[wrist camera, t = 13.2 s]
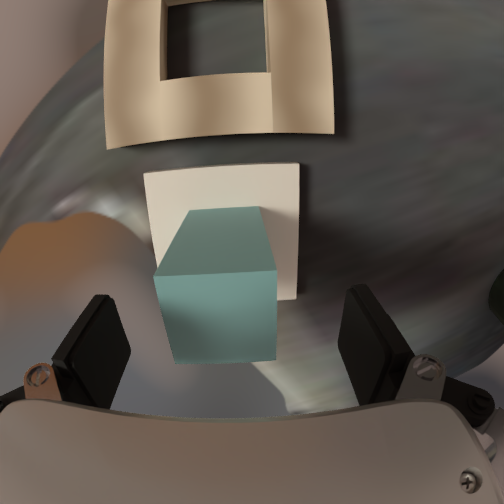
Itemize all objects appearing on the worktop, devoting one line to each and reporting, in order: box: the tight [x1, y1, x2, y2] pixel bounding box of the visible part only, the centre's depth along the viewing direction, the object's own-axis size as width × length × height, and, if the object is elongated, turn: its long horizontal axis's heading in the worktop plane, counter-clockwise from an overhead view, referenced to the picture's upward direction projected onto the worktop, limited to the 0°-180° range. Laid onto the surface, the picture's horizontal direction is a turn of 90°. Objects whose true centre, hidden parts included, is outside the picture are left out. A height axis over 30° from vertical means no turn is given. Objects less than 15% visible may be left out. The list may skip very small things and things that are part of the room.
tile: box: [144, 162, 299, 300], centre depth 20 cm, size 10×10×1 cm
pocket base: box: [104, 0, 334, 149], centre depth 14 cm, size 14×14×2 cm
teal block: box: [153, 206, 277, 364], centre depth 15 cm, size 4×4×9 cm
